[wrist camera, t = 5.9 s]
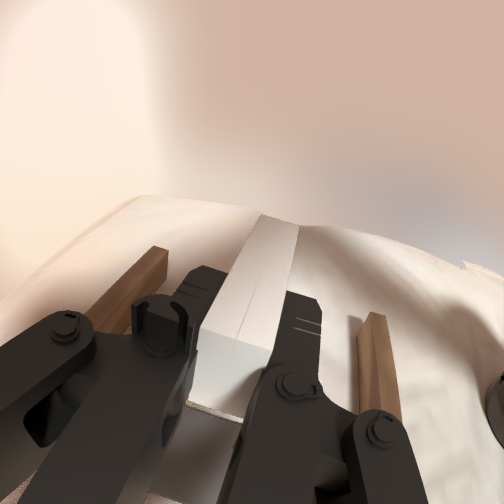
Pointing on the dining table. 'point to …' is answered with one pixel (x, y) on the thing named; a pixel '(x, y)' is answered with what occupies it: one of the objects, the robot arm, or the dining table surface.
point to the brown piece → (216, 429)
